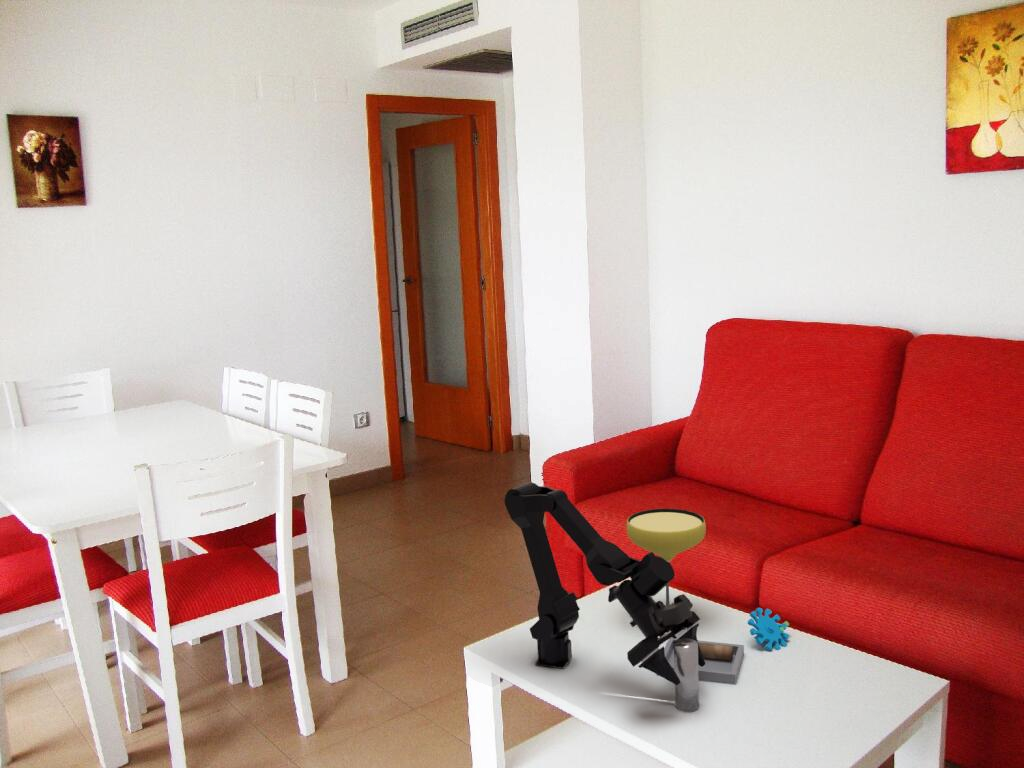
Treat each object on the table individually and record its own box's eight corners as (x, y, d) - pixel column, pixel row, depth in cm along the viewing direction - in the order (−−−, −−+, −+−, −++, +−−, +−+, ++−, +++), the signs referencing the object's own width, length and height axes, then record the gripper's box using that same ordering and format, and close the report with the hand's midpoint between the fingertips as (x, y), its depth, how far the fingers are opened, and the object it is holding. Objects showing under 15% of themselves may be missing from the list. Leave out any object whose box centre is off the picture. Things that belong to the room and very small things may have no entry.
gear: (763, 651, 203) (743, 608, 208) (748, 663, 207) (729, 620, 212) (801, 645, 208) (781, 603, 213) (785, 656, 212) (766, 615, 218)
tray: (656, 677, 197) (656, 665, 197) (669, 648, 210) (669, 637, 210) (735, 686, 192) (735, 674, 191) (743, 656, 204) (743, 645, 204)
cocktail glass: (669, 600, 236) (667, 503, 232) (723, 623, 221) (722, 520, 217) (613, 620, 226) (610, 519, 222) (666, 645, 211) (664, 538, 207)
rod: (697, 659, 203) (697, 647, 202) (700, 653, 206) (699, 640, 205) (731, 663, 200) (730, 650, 200) (733, 656, 203) (732, 643, 203)
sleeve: (673, 710, 184) (671, 647, 182) (677, 698, 188) (676, 637, 186) (697, 713, 182) (695, 649, 180) (700, 701, 186) (699, 639, 184)
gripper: (638, 602, 177) (691, 673, 172) (690, 571, 191) (741, 636, 185) (605, 631, 184) (655, 701, 178) (658, 600, 197) (706, 664, 192)
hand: (691, 674), depth 183 cm, fingers open, 9 cm apart
